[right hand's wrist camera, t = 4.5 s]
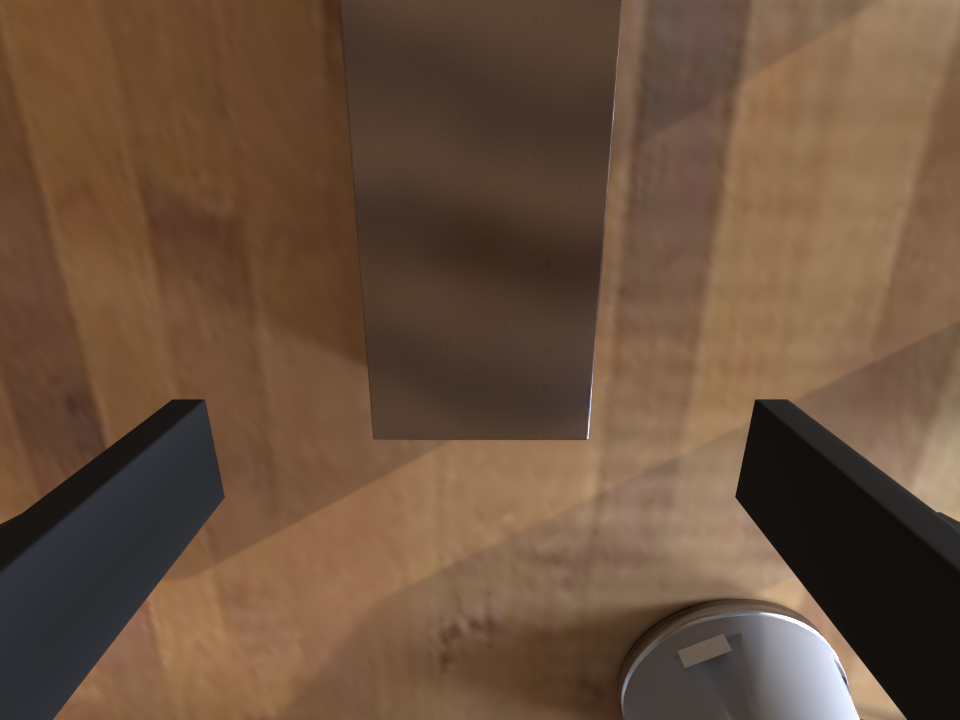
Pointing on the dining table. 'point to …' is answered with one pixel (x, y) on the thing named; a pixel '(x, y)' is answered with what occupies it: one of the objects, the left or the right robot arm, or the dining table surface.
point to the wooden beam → (481, 209)
